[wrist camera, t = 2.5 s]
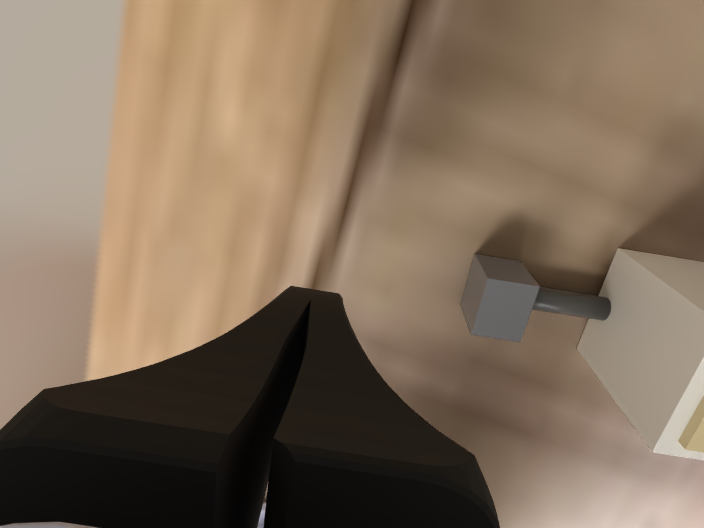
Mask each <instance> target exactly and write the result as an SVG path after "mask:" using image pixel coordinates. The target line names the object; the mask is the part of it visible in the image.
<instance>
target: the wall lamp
mask: <svg viewBox="0 0 704 528" xmlns="http://www.w3.org/2000/svg"><path fill="white" fill-rule="evenodd" d="M460 306H461V308H462V311H463V314H464V317H465V320H466V322H467V325H468V328H469V331H470V333H471V335H476V336H483V337H489V338H495V339H502V340H508V341H514V342H521V339H522V336H523V334H524V331H525V328H526V325H527V322H528V319H529V316H530V314H531V311H532V309H533V310H540V311H546V312H552V313H558V314H565V315H571V316H577V317H584V318H589V319H588V322H587V324H586V327H585V329H584V332H583V334H582V336H581V339H580V341H579V344H578V346H577V349H578V351H579V352H580V354H581V355H582V356H583V358H584V359H585V361H586V362H587V363H588V365H589V366H590V367H591V369H592V370H593V372H594V373H595V374H596V376H597V377H598V379H599V380H600V381H601V383H602V384H603V386H604V387H605V388H606V390H607V391H608V392H609V394H610V395H611V397H612V398H613V399H614V401H615V402H616V404H617V405H618V406H619V408H620V409H621V410H622V412H623V413H624V415H625V416H626V417H627V419H628V420H629V422H630V423H631V424H632V426H633V427H634V428H635V430H636V431H637V433H638V434H639V435H640V437H641V438H642V440H643V441H644V442H645V444H646V445H647V446H648V448H649V449H650V451H651V452H653V453H659V454H666V455H672V456H679V457H685V458H692V459H698V460H704V262H700V261H694V260H688V259H682V258H676V257H670V256H663V255H657V254H651V253H645V252H639V251H633V250H626V249H620V248H618V249H617V251H616V253H615V256H614V258H613V261H612V263H611V266H610V268H609V271H608V273H607V275H606V278H605V280H604V283H603V285H602V288H601V290H600V293H599V295H598V296H596V295H589V294H583V293H577V292H571V291H564V290H558V289H552V288H546V287H540V286H539V285H538V283H537V282H536V281H535V279H534V278H533V277H532V275H531V274H530V273H529V272H528V270H527V269H526V268H525V266H524V265H523V264H522V262H521V261H516V260H510V259H504V258H498V257H492V256H485V255H479V254H474V258H473V261H472V265H471V268H470V272H469V276H468V279H467V283H466V286H465V290H464V293H463V297H462V301H461V304H460Z"/></svg>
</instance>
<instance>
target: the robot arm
mask: <svg viewBox="0 0 704 528" xmlns="http://www.w3.org/2000/svg"><path fill="white" fill-rule="evenodd" d="M267 484H268V491H267V500H266V503H264V504H263V501H264V497H265V493H266V489H267ZM0 528H500V526H499V521H498V517H497V513H496V509H495V506H494V502H493V499H492V497H491V494H490V492H489V489H488V486H487V484H486V481H485V479H484V477H483V474H482V472H481V469H480V467H479V465H478V462H477V460H476V457H475V456H474V455H473V454H472V453H470V452H469V451H467V450H466V449H464V448H463V447H461V446H460V445H458V444H457V443H455V442H454V441H453V440H451V439H450V438H448V437H447V436H445V435H444V434H442V433H441V432H439V431H438V430H437V429H435V428H434V427H433V426H431V425H430V424H429V423H428V422H427V421H425V420H424V419H423V418H422V417H421V416H419V415H418V414H417V413H416V412H415V411H414V410H412V409H411V408H410V407H409V406H408V405H407V404H406V403H405V402H404V401H403V400H402V399H401V398H400V397H399V396H398V395H397V394H396V393H395V392H394V391H393V390H392V389H391V388H390V387H389V386H388V384H387V383H386V382H385V381H384V380H383V379H382V377H381V376H380V375H379V373H378V372H377V371H376V369H375V368H374V366H373V365H372V363H371V362H370V360H369V359H368V357H367V355H366V354H365V352H364V350H363V349H362V347H361V345H360V343H359V341H358V340H357V338H356V336H355V333H354V331H353V329H352V327H351V325H350V322H349V320H348V317H347V315H346V312H345V309H344V305H343V298H342V297H341V296H340V294H338V293H332V292H326V291H320V290H313V289H307V288H301V287H294V286H290V287H289V288H287V289H286V290H285V291H283V292H282V293H281V294H280V295H279V296H277V297H276V298H275V299H274V300H273V301H271V302H270V303H269V304H268V305H266V306H265V307H264V308H262V309H261V310H260V311H258V312H257V313H256V314H254V315H253V316H252V317H250V318H249V319H247V320H246V321H244V322H243V323H241V324H240V325H238V326H237V327H235V328H233V329H232V330H230V331H229V332H227V333H225V334H223V335H222V336H220V337H218V338H216V339H214V340H212V341H210V342H208V343H206V344H204V345H202V346H200V347H197V348H195V349H193V350H190V351H188V352H185V353H182V354H180V355H177V356H175V357H172V358H169V359H167V360H164V361H162V362H159V363H156V364H153V365H149V366H146V367H143V368H140V369H136V370H133V371H129V372H125V373H121V374H118V375H114V376H110V377H105V378H101V379H96V380H91V381H86V382H80V383H76V384H70V385H65V386H60V387H54V388H48V389H44V390H43V391H41V392H40V393H39V394H38V395H37V396H36V397H34V398H33V399H32V400H31V401H30V402H29V403H28V404H27V405H26V406H24V407H23V408H22V409H21V410H20V411H19V412H18V413H17V414H16V415H15V416H14V417H13V418H12V419H11V420H10V421H9V422H8V423H7V424H6V425H5V426H4V427H3V428H2V429H1V430H0Z"/></svg>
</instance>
